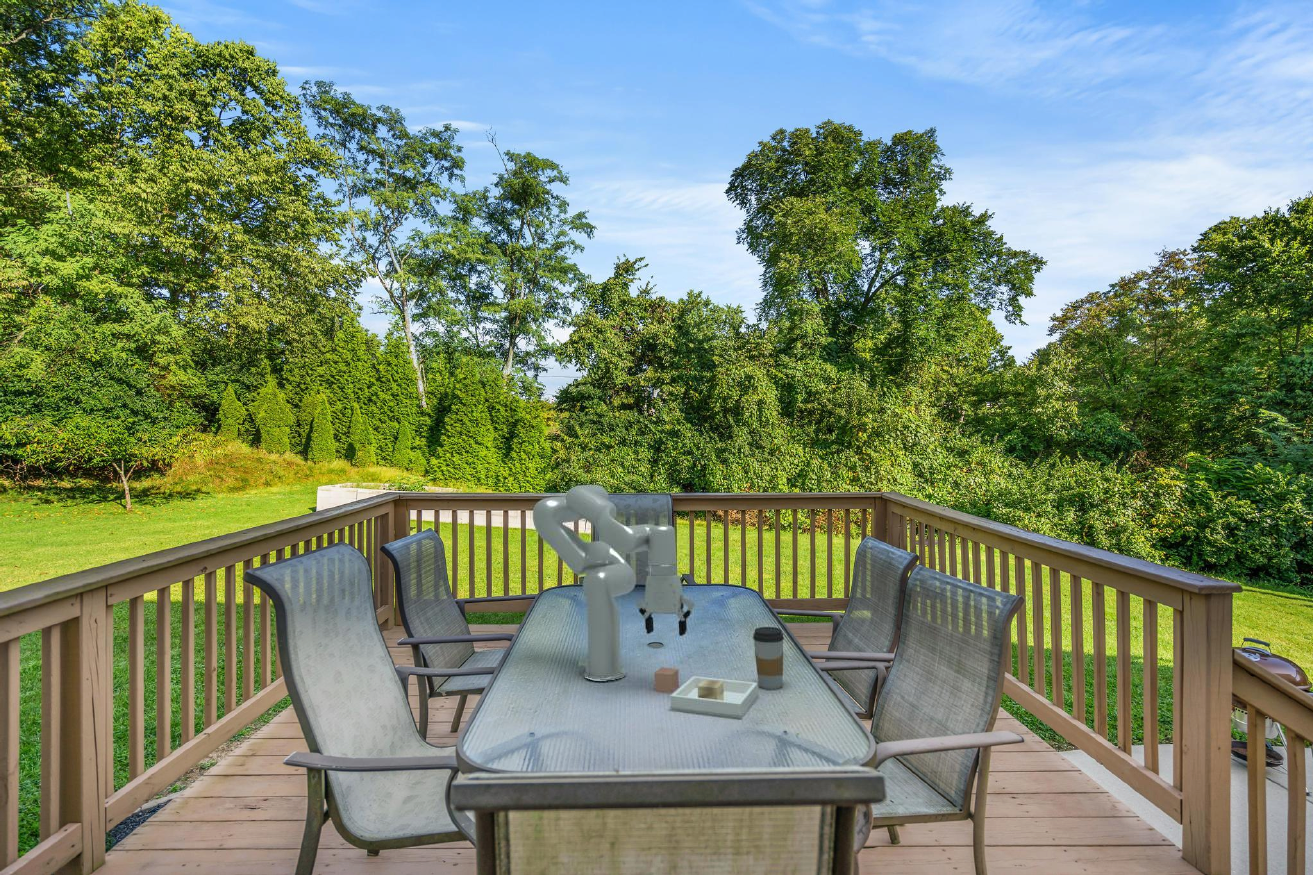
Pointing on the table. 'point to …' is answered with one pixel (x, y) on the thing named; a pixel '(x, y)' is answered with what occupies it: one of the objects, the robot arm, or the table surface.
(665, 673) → the terracotta block
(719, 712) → the tray
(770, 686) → the coffee cup
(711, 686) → the maple block
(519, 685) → the table surface
